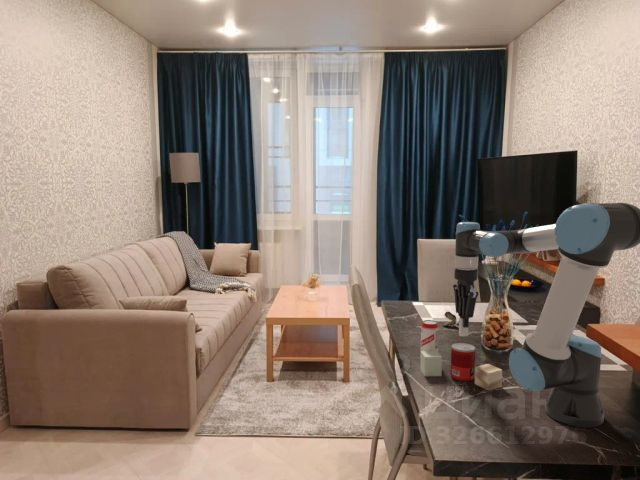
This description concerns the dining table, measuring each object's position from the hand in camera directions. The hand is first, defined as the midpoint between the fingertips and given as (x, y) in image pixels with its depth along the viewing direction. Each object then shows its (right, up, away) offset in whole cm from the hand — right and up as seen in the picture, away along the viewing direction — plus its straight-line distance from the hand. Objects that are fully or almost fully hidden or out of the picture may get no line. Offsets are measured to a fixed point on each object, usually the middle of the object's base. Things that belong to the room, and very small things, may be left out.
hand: (463, 335), depth 167 cm
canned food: (0, -15, +2) cm, 15 cm away
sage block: (-10, -14, +6) cm, 18 cm away
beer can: (-9, -13, +14) cm, 21 cm away
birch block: (+7, -16, -5) cm, 18 cm away
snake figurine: (+12, -8, +60) cm, 62 cm away
